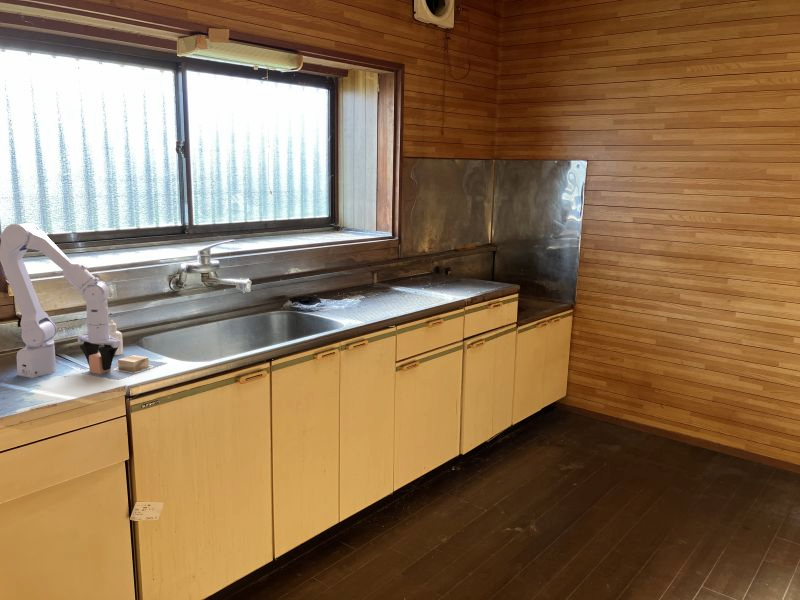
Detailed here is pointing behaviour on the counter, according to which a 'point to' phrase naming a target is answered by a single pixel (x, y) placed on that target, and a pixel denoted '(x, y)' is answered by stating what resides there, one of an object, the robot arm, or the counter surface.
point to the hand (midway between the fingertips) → (100, 368)
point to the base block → (133, 363)
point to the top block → (96, 364)
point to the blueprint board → (123, 371)
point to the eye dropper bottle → (116, 336)
